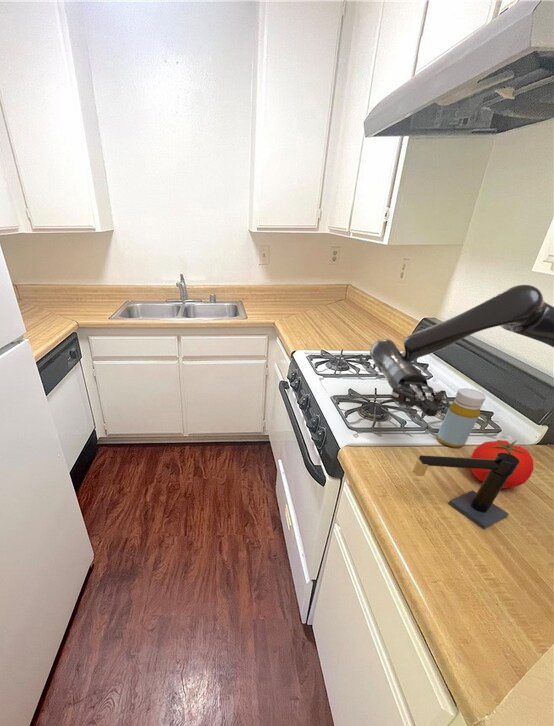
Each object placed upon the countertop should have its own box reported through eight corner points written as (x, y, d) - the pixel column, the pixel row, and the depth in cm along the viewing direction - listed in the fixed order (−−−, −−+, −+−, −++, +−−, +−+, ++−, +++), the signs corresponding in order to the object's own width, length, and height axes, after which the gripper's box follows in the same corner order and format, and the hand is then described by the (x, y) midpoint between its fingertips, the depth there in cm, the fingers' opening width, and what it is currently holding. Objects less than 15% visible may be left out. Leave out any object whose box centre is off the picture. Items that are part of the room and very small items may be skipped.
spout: (500, 472, 71) (512, 453, 68) (511, 484, 68) (524, 464, 65) (409, 466, 72) (417, 447, 69) (416, 478, 69) (424, 458, 66)
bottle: (456, 451, 93) (480, 402, 84) (431, 439, 97) (451, 391, 89) (468, 443, 96) (492, 395, 88) (443, 431, 101) (464, 385, 92)
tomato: (513, 472, 86) (534, 438, 80) (526, 502, 77) (551, 466, 71) (459, 460, 90) (475, 426, 84) (466, 487, 81) (485, 452, 75)
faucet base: (470, 493, 79) (492, 455, 73) (507, 517, 73) (533, 477, 67) (448, 503, 76) (468, 464, 70) (483, 529, 70) (509, 489, 64)
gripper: (383, 364, 89) (408, 396, 74) (436, 367, 88) (470, 399, 74) (375, 391, 93) (397, 425, 79) (425, 393, 92) (457, 428, 78)
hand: (433, 412), depth 76 cm, fingers closed
